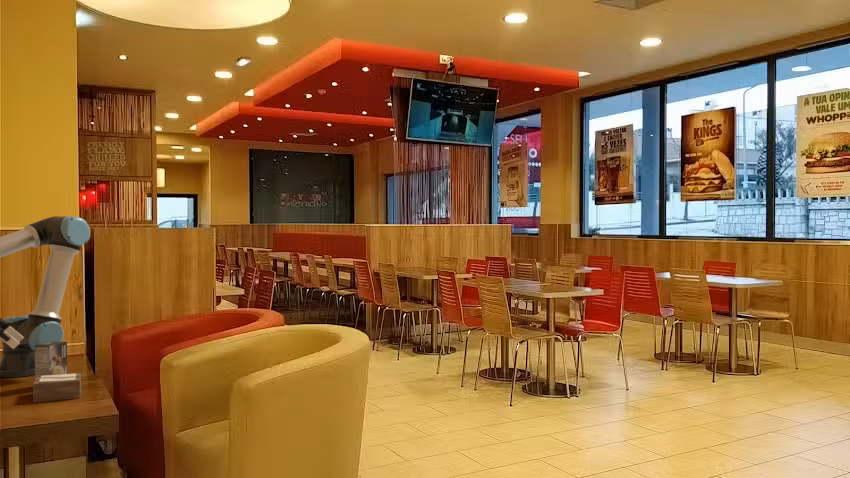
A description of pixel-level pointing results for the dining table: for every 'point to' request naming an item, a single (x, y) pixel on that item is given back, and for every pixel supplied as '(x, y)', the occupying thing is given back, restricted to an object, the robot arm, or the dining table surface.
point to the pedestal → (57, 387)
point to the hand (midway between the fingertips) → (19, 343)
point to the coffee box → (51, 358)
